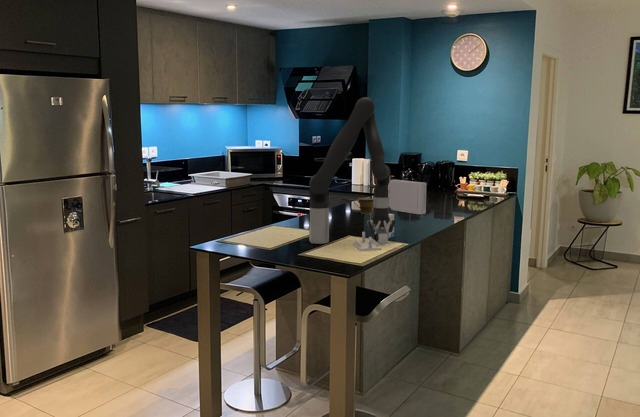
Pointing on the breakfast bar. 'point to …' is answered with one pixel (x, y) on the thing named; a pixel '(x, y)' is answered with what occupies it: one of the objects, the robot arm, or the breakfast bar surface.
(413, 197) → the game console
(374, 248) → the grey peg stand
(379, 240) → the drive
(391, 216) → the ink box
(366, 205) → the ceramic cup
